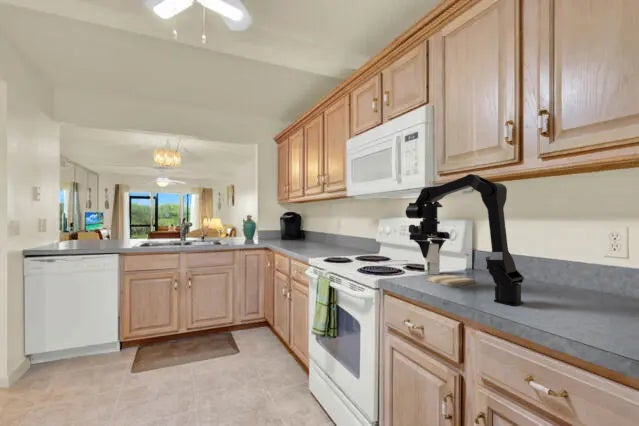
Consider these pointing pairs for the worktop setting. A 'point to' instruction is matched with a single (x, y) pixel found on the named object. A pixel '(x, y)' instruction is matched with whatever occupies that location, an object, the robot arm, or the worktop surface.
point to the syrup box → (433, 266)
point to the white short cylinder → (432, 253)
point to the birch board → (450, 280)
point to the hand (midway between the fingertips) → (430, 257)
